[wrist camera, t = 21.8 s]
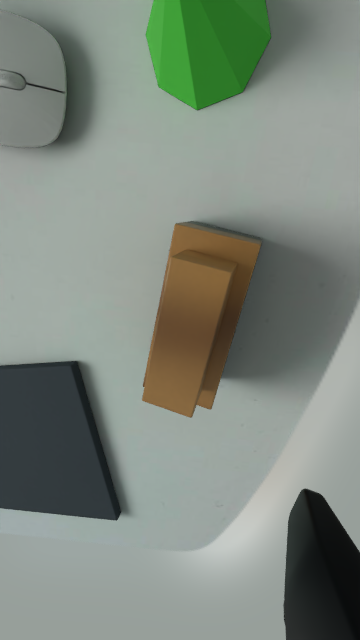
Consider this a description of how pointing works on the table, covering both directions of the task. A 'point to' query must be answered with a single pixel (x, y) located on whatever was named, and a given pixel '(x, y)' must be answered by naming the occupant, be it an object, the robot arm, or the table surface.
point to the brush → (197, 314)
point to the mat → (51, 444)
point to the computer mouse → (30, 83)
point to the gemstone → (206, 47)
